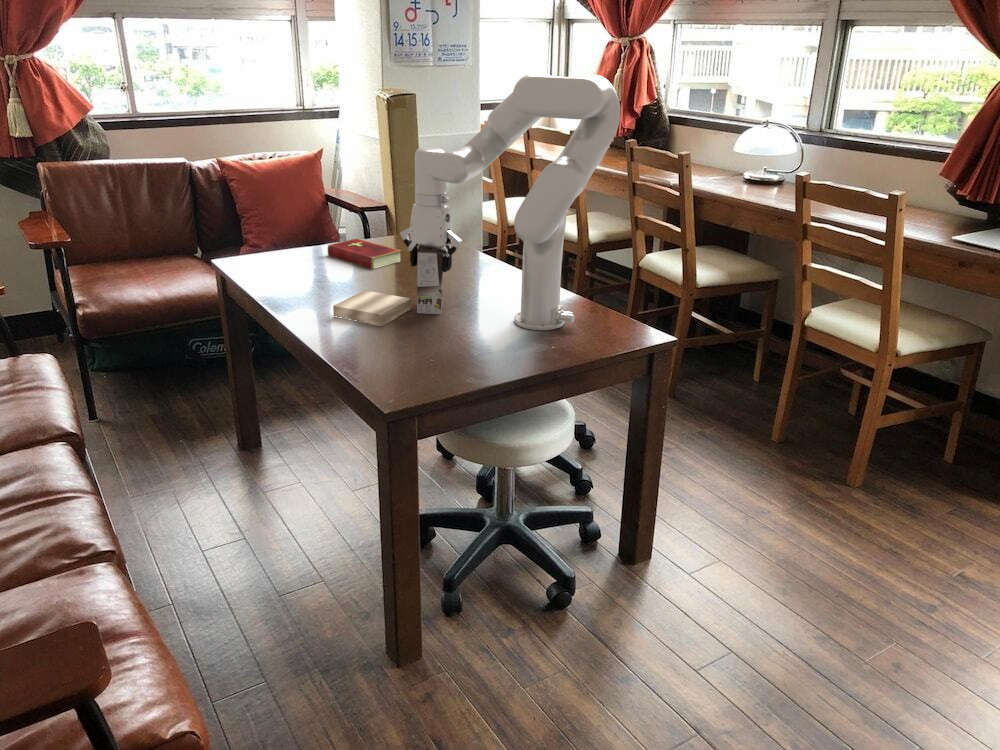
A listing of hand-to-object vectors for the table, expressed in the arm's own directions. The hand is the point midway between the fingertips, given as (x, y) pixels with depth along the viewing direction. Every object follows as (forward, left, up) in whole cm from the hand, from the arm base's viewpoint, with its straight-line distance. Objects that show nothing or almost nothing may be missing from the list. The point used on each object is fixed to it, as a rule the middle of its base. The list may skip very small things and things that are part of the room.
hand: (430, 267), depth 206 cm
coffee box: (0, 0, -11) cm, 11 cm away
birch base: (+11, +10, -11) cm, 19 cm away
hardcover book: (+41, -31, -12) cm, 53 cm away
